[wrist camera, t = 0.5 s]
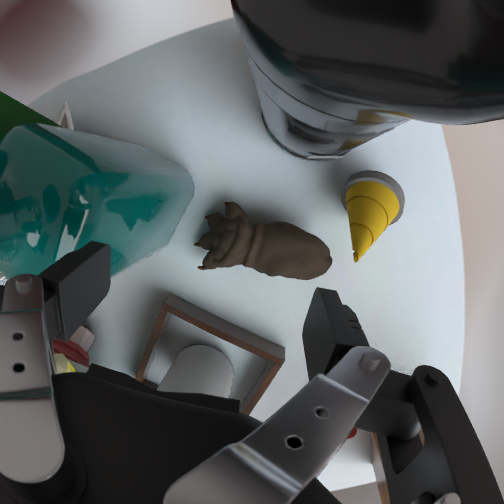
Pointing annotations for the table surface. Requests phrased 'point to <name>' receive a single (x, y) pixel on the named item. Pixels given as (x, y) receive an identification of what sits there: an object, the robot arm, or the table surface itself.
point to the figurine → (262, 246)
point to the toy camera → (73, 351)
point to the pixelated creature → (18, 115)
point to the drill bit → (371, 207)
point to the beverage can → (199, 372)
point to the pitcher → (84, 198)
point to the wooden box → (222, 331)
